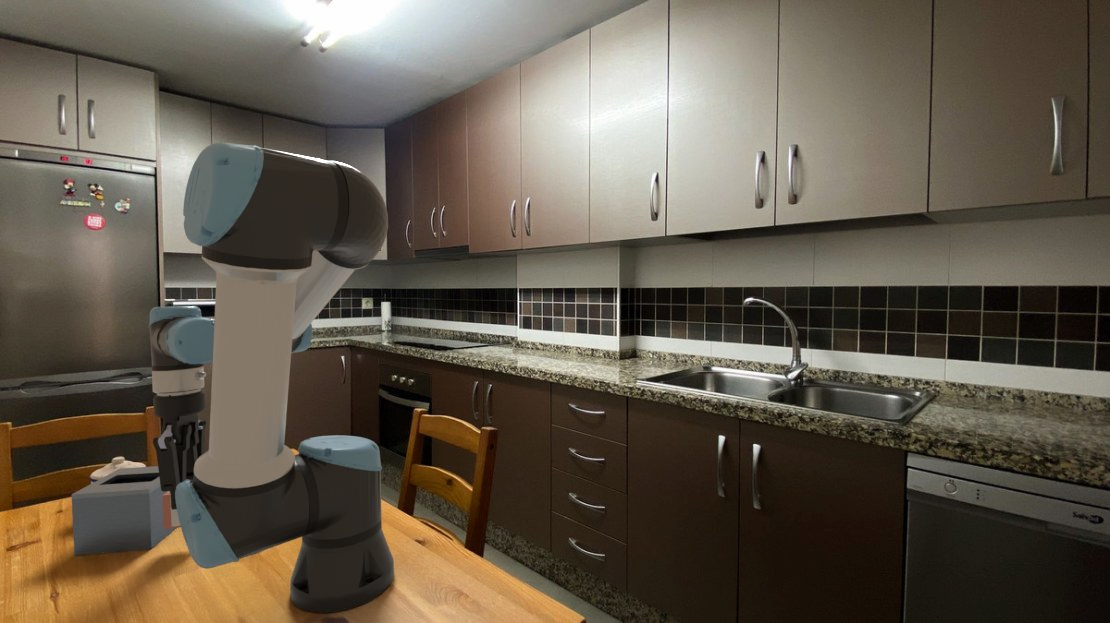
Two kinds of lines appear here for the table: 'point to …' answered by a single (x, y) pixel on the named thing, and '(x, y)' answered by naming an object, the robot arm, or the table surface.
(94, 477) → the teacup with lid
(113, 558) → the table surface
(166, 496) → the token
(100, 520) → the grey hollow block
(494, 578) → the table surface
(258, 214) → the robot arm
